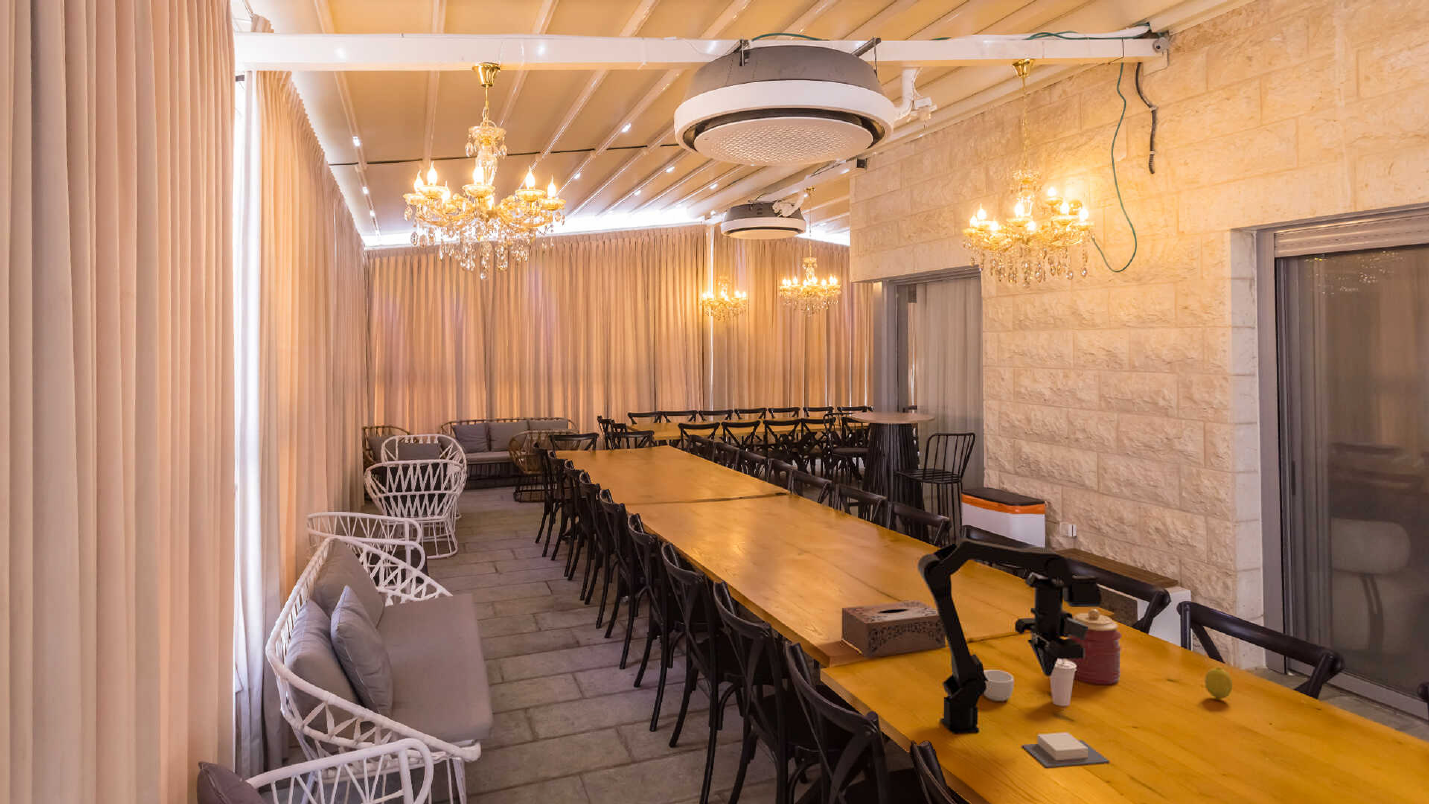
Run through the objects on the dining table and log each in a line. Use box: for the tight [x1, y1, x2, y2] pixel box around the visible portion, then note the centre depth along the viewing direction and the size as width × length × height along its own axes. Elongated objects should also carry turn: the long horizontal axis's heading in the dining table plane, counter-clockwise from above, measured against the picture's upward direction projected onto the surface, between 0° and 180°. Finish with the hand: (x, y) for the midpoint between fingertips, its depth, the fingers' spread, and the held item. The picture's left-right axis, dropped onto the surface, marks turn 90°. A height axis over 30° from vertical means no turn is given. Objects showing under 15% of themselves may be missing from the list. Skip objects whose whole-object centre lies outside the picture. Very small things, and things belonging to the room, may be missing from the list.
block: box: [1036, 731, 1088, 760], centre depth 162 cm, size 7×2×7 cm
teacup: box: [983, 669, 1015, 702], centre depth 190 cm, size 10×8×5 cm
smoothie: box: [1049, 659, 1076, 707], centre depth 186 cm, size 6×6×14 cm
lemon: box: [1204, 666, 1233, 700], centre depth 188 cm, size 6×6×8 cm
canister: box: [1065, 608, 1122, 685], centre depth 203 cm, size 13×13×18 cm
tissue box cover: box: [841, 599, 946, 659], centre depth 226 cm, size 26×14×10 cm, turn 108°
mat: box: [1021, 739, 1110, 769], centre depth 162 cm, size 14×9×1 cm, turn 99°
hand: (1047, 675), depth 172 cm, fingers closed
